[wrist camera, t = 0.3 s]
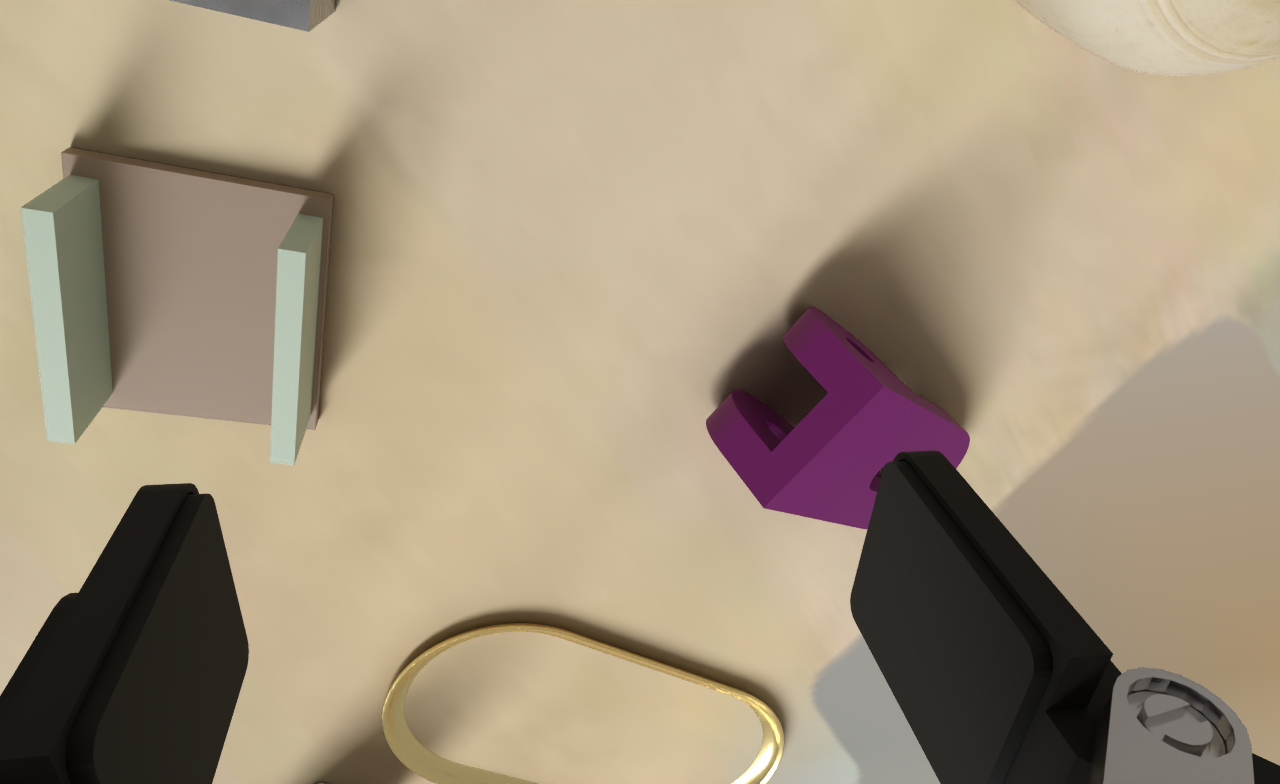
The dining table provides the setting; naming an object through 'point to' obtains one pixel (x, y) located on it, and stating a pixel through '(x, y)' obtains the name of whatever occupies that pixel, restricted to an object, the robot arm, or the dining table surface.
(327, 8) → the tall grey upright block
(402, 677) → the gold oval ring
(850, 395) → the mounting bracket
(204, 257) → the post slot
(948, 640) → the robot arm
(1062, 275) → the dining table surface
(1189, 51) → the jug
